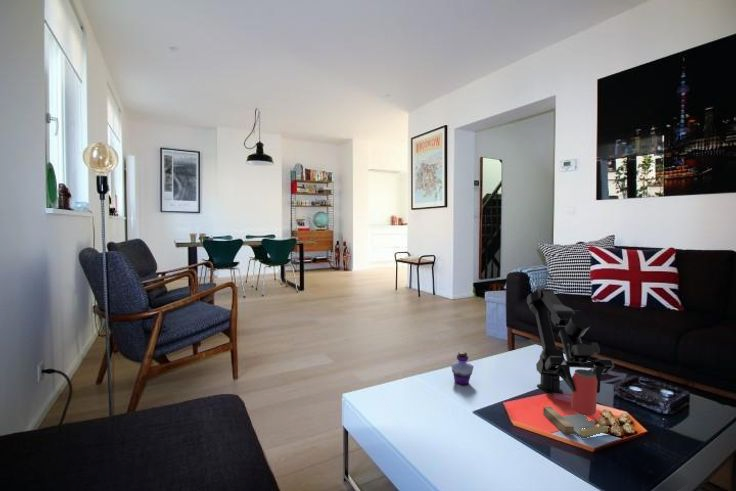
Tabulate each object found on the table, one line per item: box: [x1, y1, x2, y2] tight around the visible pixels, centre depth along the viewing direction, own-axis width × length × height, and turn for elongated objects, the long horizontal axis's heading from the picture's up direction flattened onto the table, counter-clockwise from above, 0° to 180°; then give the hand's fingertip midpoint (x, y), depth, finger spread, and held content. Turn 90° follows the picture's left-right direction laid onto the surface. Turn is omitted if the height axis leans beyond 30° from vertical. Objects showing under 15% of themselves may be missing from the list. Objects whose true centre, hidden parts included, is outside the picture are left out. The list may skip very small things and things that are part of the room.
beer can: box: [570, 368, 598, 416], centre depth 113 cm, size 7×7×12 cm
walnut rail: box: [542, 406, 575, 436], centre depth 115 cm, size 12×2×2 cm, turn 4°
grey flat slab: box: [561, 413, 610, 439], centre depth 114 cm, size 11×11×2 cm
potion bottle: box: [450, 351, 474, 387], centre depth 144 cm, size 9×9×12 cm
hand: (586, 391), depth 112 cm, fingers closed on beer can, 7 cm apart
